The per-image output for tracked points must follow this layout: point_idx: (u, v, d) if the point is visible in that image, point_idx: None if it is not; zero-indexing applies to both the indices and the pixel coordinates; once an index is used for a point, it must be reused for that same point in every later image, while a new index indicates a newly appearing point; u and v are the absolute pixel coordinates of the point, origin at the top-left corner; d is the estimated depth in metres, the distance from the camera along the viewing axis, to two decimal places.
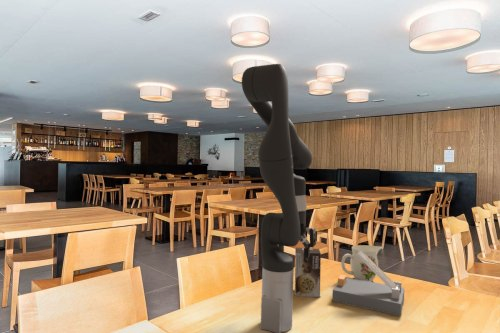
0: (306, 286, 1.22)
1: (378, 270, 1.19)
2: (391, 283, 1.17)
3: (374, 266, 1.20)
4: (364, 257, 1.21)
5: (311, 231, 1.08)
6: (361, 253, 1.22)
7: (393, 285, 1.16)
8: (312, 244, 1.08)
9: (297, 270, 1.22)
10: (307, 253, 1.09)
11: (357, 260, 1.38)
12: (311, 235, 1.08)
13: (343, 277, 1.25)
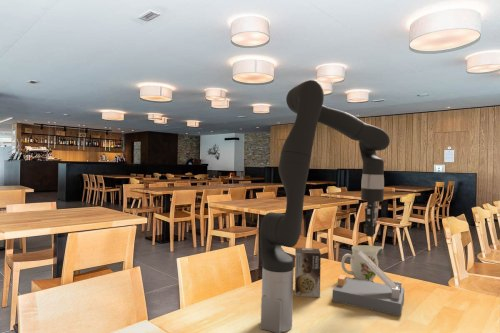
0: (306, 286, 1.22)
1: (378, 270, 1.19)
2: (391, 283, 1.17)
3: (374, 266, 1.20)
4: (364, 257, 1.21)
5: None
6: (361, 253, 1.22)
7: (393, 285, 1.16)
8: (376, 218, 1.24)
9: (297, 270, 1.22)
10: (374, 228, 1.23)
11: (357, 260, 1.38)
12: None
13: (343, 277, 1.25)
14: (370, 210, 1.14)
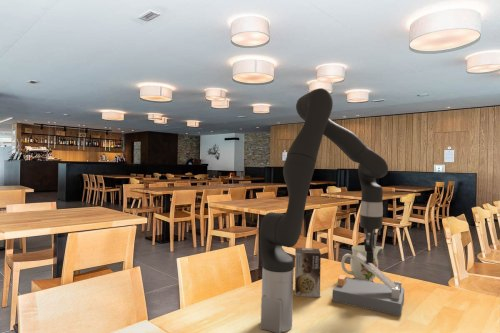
0: (306, 286, 1.22)
1: (377, 271, 1.19)
2: (391, 283, 1.17)
3: (373, 267, 1.20)
4: (362, 259, 1.21)
5: None
6: (359, 255, 1.22)
7: (393, 285, 1.16)
8: None
9: (297, 270, 1.22)
10: None
11: (357, 260, 1.38)
12: None
13: (343, 277, 1.25)
14: (369, 242, 1.15)
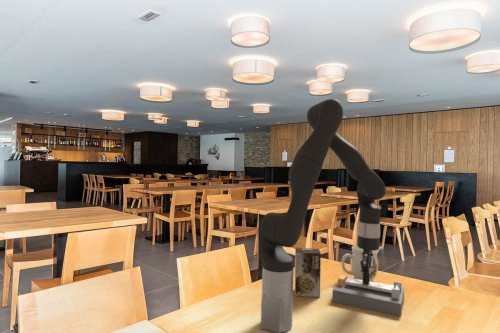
0: (306, 286, 1.22)
1: (371, 284, 1.20)
2: (388, 287, 1.17)
3: (365, 283, 1.21)
4: (352, 281, 1.22)
5: None
6: (349, 279, 1.24)
7: (391, 287, 1.17)
8: (371, 266, 1.23)
9: (297, 270, 1.22)
10: None
11: (357, 260, 1.38)
12: None
13: (343, 277, 1.25)
14: (366, 263, 1.16)
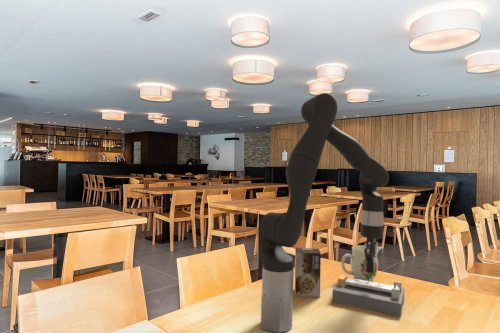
0: (306, 286, 1.22)
1: (371, 284, 1.20)
2: (388, 287, 1.17)
3: (365, 283, 1.21)
4: (352, 281, 1.22)
5: None
6: (349, 279, 1.24)
7: (391, 287, 1.17)
8: (375, 255, 1.22)
9: (297, 270, 1.22)
10: None
11: (357, 260, 1.38)
12: None
13: (343, 277, 1.25)
14: (369, 251, 1.15)
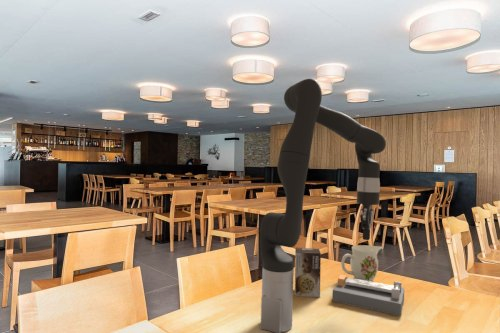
0: (306, 286, 1.22)
1: (371, 284, 1.20)
2: (388, 287, 1.17)
3: (365, 283, 1.21)
4: (352, 281, 1.22)
5: None
6: (349, 279, 1.24)
7: (391, 287, 1.17)
8: (371, 223, 1.21)
9: (297, 270, 1.22)
10: None
11: (357, 260, 1.38)
12: None
13: (343, 277, 1.25)
14: (365, 217, 1.14)
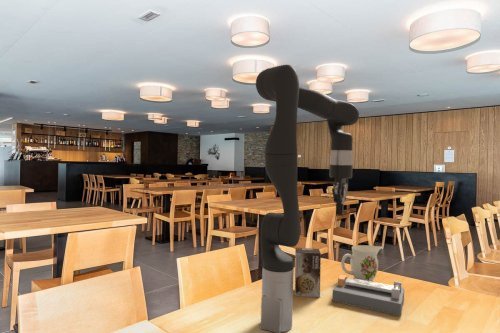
0: (306, 286, 1.22)
1: (371, 284, 1.20)
2: (388, 287, 1.17)
3: (365, 283, 1.21)
4: (352, 281, 1.22)
5: (347, 188, 1.20)
6: (349, 279, 1.24)
7: (391, 287, 1.17)
8: (345, 198, 1.17)
9: (297, 270, 1.22)
10: None
11: (357, 260, 1.38)
12: (346, 192, 1.19)
13: (343, 277, 1.25)
14: (337, 190, 1.10)
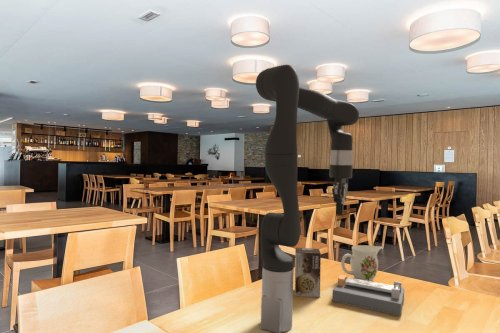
0: (306, 286, 1.22)
1: (371, 284, 1.20)
2: (388, 287, 1.17)
3: (365, 283, 1.21)
4: (352, 281, 1.22)
5: (347, 188, 1.20)
6: (349, 279, 1.24)
7: (391, 287, 1.17)
8: (345, 198, 1.17)
9: (297, 270, 1.22)
10: None
11: (357, 260, 1.38)
12: (346, 192, 1.19)
13: (343, 277, 1.25)
14: (337, 190, 1.10)
